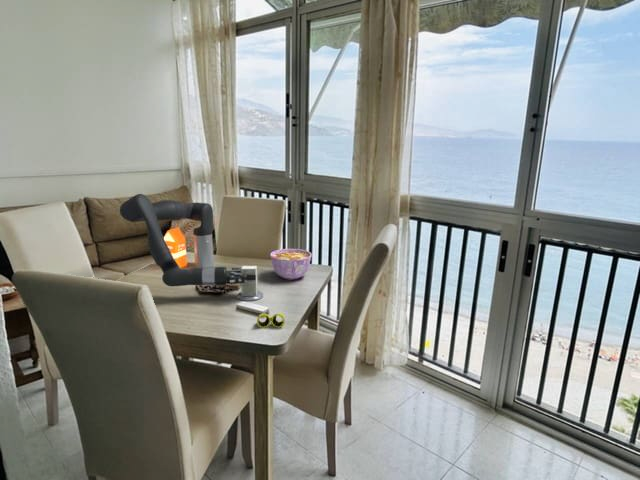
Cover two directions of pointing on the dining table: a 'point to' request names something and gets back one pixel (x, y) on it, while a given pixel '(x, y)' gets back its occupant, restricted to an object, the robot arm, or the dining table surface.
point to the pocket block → (233, 286)
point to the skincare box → (249, 281)
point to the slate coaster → (250, 297)
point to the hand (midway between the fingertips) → (255, 275)
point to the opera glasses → (272, 319)
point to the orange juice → (176, 246)
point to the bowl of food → (290, 262)
